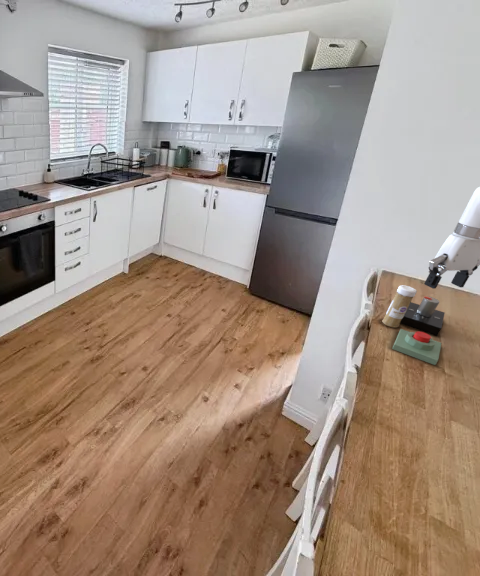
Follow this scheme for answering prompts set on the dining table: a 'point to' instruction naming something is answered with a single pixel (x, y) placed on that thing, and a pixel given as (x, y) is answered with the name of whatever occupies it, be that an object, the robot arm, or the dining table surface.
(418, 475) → the dining table surface
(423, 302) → the dial
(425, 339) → the button
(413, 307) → the panel
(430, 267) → the robot arm
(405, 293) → the sprinkles bottle
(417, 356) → the button box
